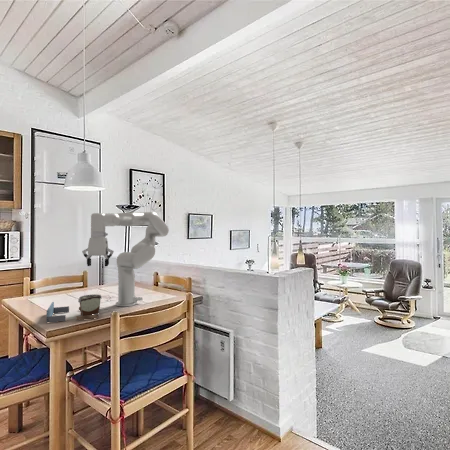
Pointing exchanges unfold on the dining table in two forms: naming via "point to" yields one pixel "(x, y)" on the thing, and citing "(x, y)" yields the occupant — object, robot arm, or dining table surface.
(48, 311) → the slate stop bracket
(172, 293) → the dining table surface
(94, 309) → the food container
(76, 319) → the walnut sleeve
